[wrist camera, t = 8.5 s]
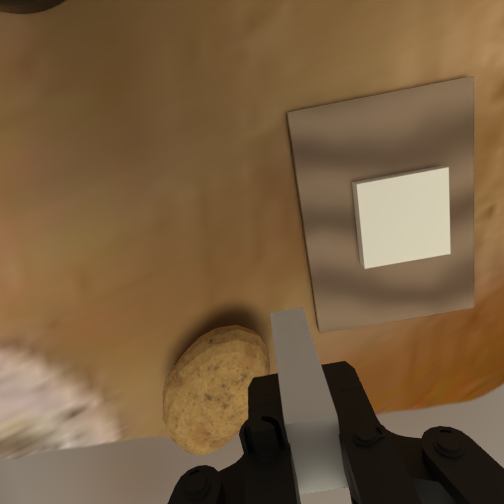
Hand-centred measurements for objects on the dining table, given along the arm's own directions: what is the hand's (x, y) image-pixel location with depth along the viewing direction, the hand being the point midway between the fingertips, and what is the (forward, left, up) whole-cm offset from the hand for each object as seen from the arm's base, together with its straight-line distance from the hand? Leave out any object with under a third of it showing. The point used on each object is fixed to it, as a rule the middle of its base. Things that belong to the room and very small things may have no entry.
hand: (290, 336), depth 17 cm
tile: (+1, +8, -18) cm, 20 cm away
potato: (+14, -8, -20) cm, 26 cm away
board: (+1, +11, -20) cm, 23 cm away
